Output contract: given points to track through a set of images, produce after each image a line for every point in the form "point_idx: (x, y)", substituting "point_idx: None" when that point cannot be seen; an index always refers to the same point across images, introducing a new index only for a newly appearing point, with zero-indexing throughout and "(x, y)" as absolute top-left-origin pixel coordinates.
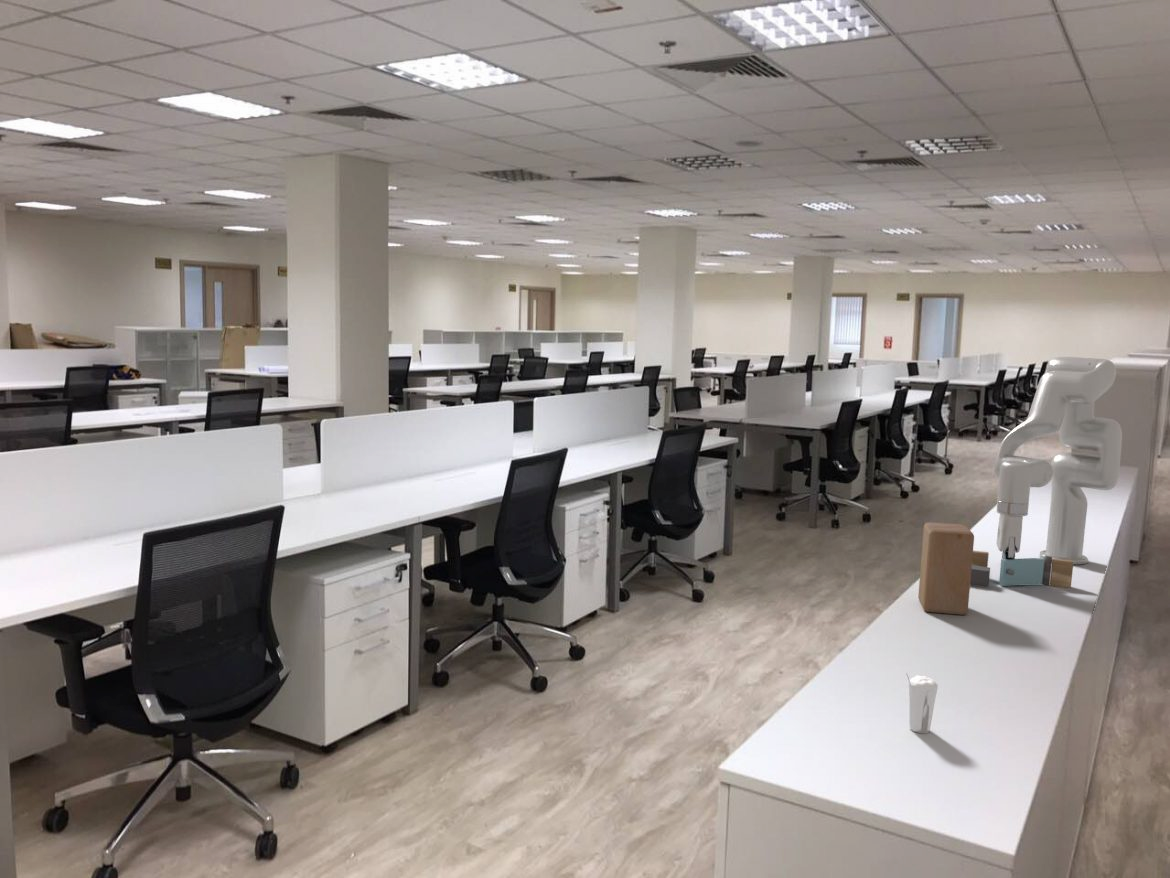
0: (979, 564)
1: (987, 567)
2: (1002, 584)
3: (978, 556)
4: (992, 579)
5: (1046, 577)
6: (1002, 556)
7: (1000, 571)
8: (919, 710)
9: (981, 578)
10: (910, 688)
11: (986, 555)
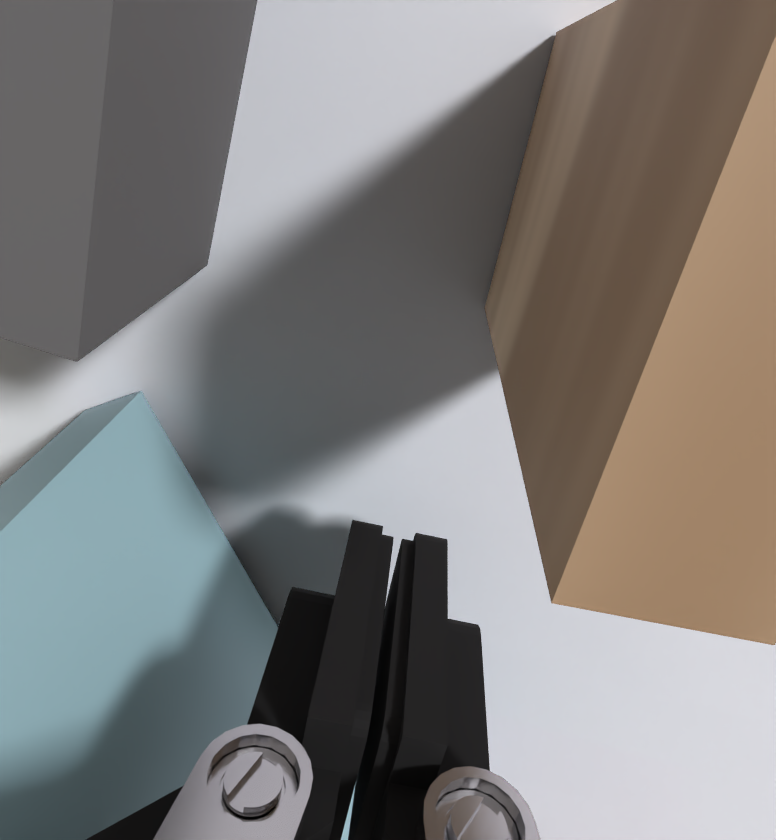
0: (562, 227)
1: (63, 297)
2: (75, 422)
3: (633, 221)
4: (469, 390)
5: None
6: (484, 830)
7: (28, 504)
8: None
9: None
10: None
11: (555, 497)
